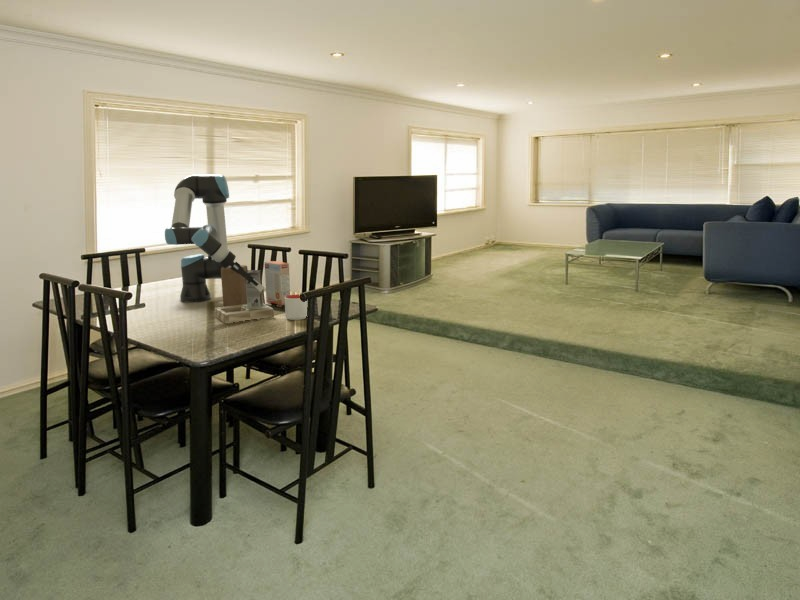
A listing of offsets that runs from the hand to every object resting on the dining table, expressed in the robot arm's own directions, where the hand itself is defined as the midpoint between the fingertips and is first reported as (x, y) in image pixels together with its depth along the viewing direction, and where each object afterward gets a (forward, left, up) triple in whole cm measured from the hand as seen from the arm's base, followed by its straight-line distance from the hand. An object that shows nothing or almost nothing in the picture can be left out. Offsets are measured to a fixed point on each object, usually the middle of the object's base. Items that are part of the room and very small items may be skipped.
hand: (259, 287), depth 270 cm
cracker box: (-20, +16, -13) cm, 29 cm away
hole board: (0, -8, -13) cm, 15 cm away
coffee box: (0, -2, -9) cm, 9 cm away
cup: (+16, +11, -13) cm, 23 cm away
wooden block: (-25, -4, -13) cm, 29 cm away
